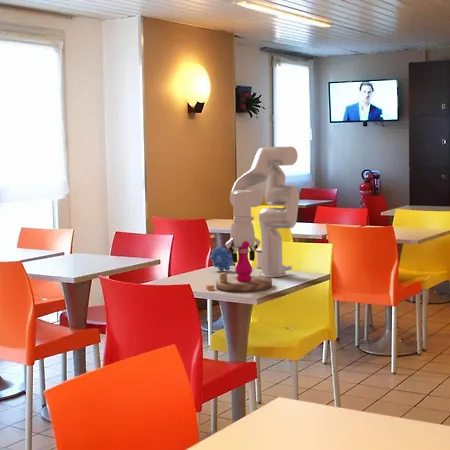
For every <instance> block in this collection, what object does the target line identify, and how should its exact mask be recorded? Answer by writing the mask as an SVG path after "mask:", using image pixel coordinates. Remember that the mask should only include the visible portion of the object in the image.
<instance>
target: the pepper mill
mask: <svg viewBox="0 0 450 450" xmlns="http://www.w3.org/2000/svg"><path fill="white" fill-rule="evenodd" d="M249 251H250V248H249V242H248V241H244V242H243V243H242V247H238V249H237V251H236V253H237V255H238V258H237V263H236V265H235V271H234V272H235V273H236V274H237V281H250V280H251V276H252V275H251V274H252V272H253V266H252V263H251V262H250V260H249Z"/></svg>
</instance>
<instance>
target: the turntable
mask: <svg viewBox="0 0 450 450" xmlns="http://www.w3.org/2000/svg"><path fill="white" fill-rule="evenodd" d="M237 276H238V275H237ZM237 276H236V275H235V276H228V273H227V272H220V273H219V279H217V280H216V281H215V288H216V289H218V290H220V291H223V292H224V291H226V292H257V291H263V290H267V289H271V288H273V279H272V278H271V277H261V276H259V275H258V276H257V275H256V276H255V275H250V276H251V280H250V281H237Z"/></svg>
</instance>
